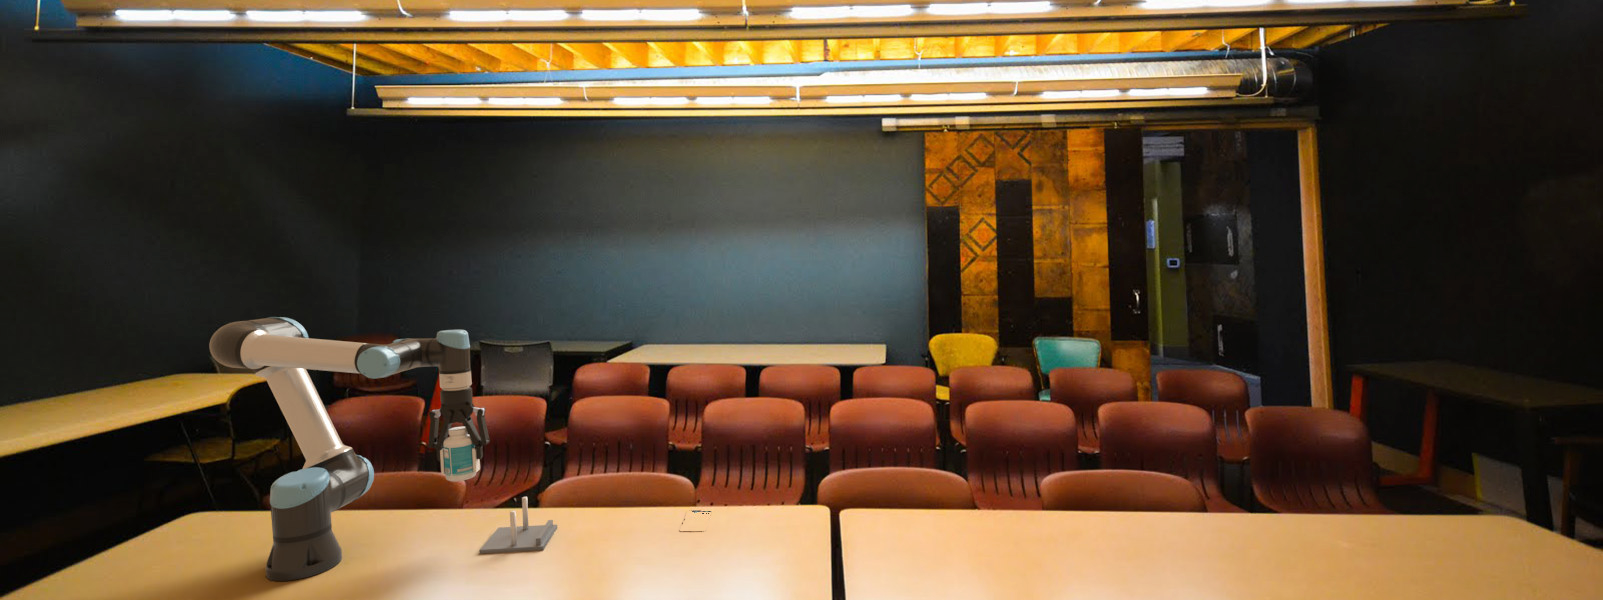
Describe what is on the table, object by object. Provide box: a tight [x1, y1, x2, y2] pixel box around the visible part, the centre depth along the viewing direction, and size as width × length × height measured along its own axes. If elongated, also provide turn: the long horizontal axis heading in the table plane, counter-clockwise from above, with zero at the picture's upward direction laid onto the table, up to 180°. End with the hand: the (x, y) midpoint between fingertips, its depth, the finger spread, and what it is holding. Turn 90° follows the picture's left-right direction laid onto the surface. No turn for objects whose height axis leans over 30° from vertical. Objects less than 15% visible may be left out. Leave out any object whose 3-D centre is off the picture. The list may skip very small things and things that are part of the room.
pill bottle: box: [443, 425, 477, 482], centre depth 174 cm, size 8×7×14 cm
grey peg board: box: [479, 496, 558, 554], centre depth 176 cm, size 16×14×10 cm
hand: (460, 471), depth 174 cm, fingers closed on pill bottle, 7 cm apart
